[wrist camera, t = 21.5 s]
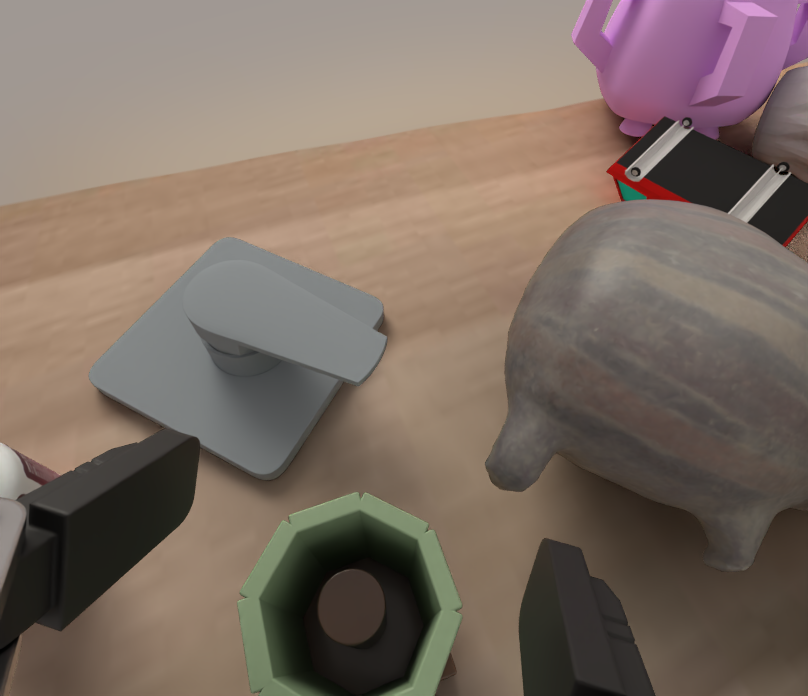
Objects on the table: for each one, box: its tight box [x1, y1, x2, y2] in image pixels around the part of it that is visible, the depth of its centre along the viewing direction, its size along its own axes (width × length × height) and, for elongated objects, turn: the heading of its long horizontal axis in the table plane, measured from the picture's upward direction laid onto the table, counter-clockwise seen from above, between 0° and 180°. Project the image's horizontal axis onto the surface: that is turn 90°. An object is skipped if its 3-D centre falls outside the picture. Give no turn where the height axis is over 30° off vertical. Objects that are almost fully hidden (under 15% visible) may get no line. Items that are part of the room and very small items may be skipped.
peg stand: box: [303, 557, 457, 696], centre depth 18 cm, size 6×6×8 cm
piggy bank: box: [485, 199, 808, 572], centre depth 23 cm, size 18×16×14 cm
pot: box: [571, 0, 808, 140], centre depth 37 cm, size 18×17×12 cm
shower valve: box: [89, 237, 387, 480], centre depth 26 cm, size 12×6×15 cm
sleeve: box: [237, 492, 462, 696], centre depth 17 cm, size 6×6×8 cm
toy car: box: [606, 116, 808, 247], centre depth 34 cm, size 6×12×4 cm, turn 44°
